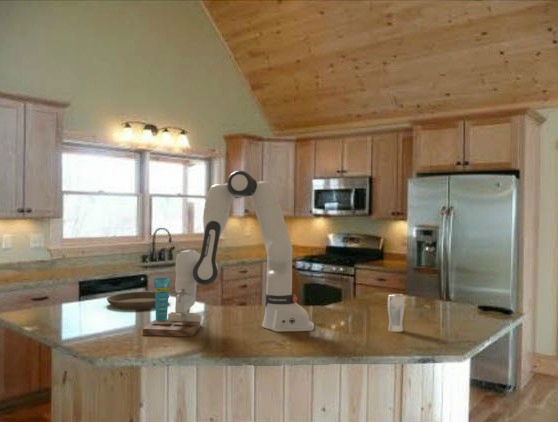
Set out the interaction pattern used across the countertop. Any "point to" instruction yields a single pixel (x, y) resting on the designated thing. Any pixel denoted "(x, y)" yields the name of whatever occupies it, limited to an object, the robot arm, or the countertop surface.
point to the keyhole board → (171, 328)
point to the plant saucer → (133, 300)
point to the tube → (161, 297)
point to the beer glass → (395, 312)
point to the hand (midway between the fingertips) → (185, 319)
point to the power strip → (189, 317)
